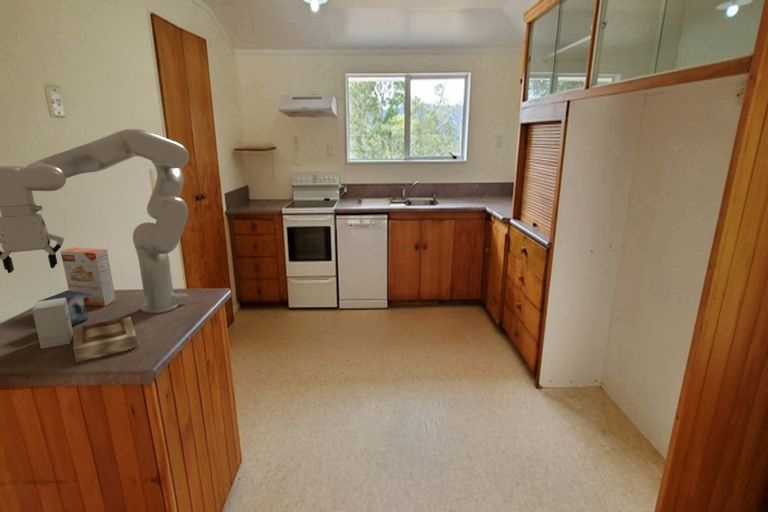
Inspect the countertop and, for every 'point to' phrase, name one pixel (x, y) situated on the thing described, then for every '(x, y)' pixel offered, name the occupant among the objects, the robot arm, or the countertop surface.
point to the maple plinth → (104, 338)
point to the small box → (73, 305)
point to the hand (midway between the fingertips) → (32, 269)
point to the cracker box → (89, 275)
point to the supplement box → (53, 322)
